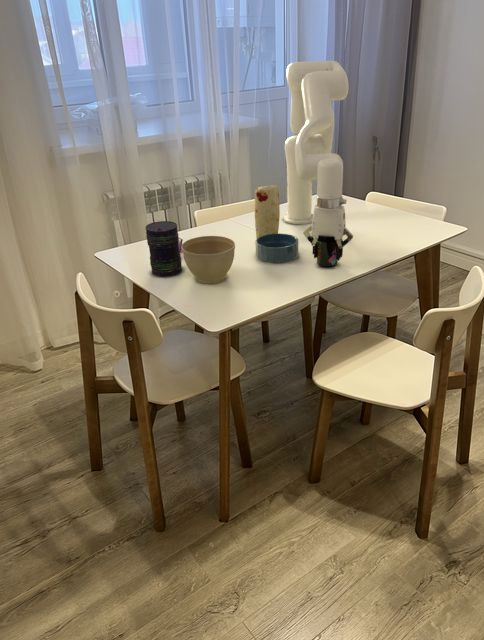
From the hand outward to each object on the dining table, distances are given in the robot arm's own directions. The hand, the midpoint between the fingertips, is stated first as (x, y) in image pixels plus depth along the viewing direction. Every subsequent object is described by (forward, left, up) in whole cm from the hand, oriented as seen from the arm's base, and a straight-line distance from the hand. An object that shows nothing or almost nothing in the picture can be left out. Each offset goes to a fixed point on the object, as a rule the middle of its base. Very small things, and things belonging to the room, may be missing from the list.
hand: (327, 257), depth 172 cm
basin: (-3, -18, -3) cm, 18 cm away
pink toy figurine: (+4, -52, -3) cm, 52 cm away
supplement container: (0, 0, -3) cm, 3 cm away
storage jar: (+19, -48, -3) cm, 52 cm away
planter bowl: (+20, -32, -3) cm, 38 cm away
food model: (-16, -26, -3) cm, 31 cm away
